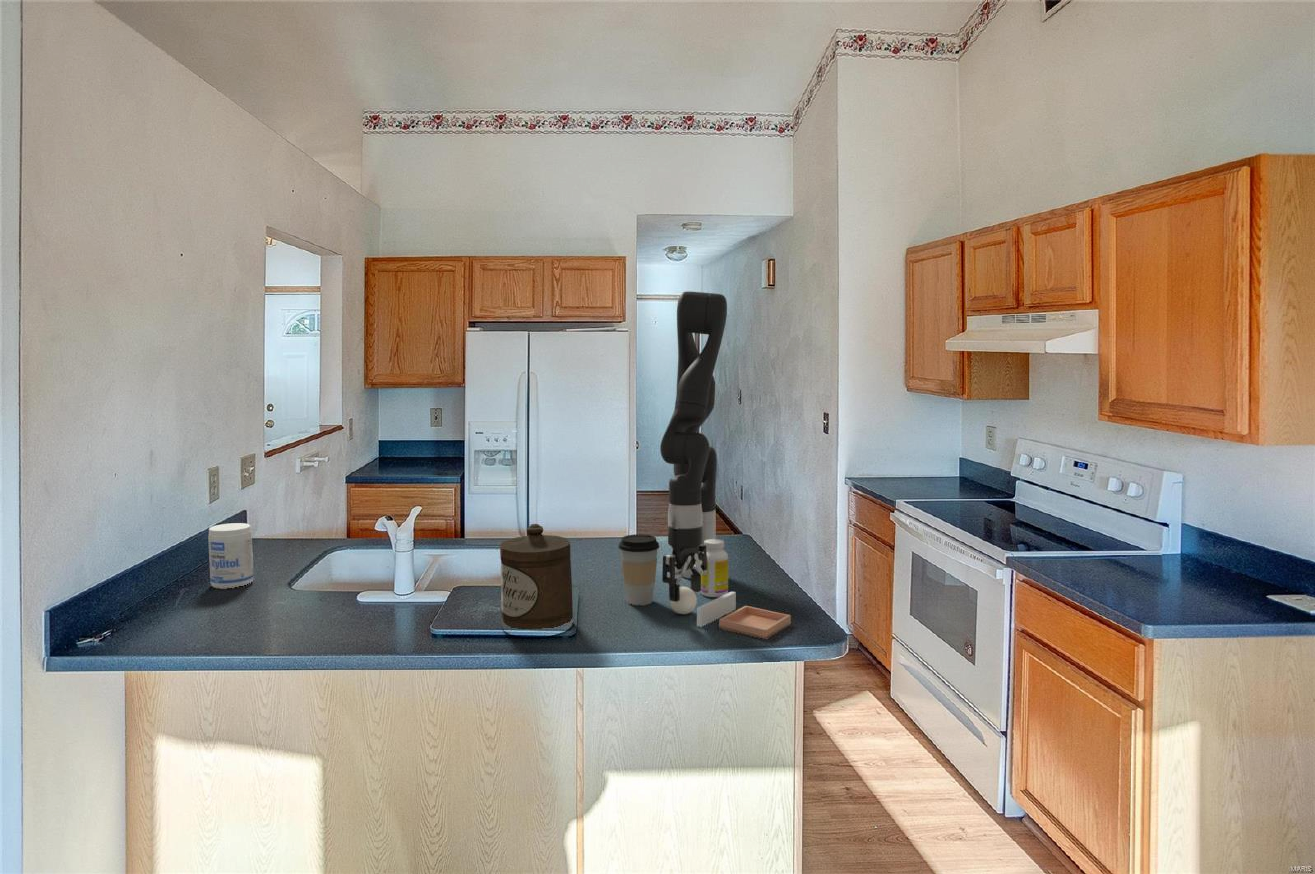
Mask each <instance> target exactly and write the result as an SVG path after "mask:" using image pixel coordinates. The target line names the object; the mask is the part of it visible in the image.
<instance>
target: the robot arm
mask: <svg viewBox="0 0 1315 874" xmlns="http://www.w3.org/2000/svg"><path fill="white" fill-rule="evenodd" d="M676 306H677V307H676V328H677V329H676V332H677V358H678V359H677V360H678V361H677V373H676V375H677V377H676V395H675V396H676V397H675V403H674V411H673V413H672V416H671V418H670V420H669V423H668V425H667V427H666V429H665V431H664V434H663V436H662V438H661V441H660V448H659V449H660V451H659V452H660V455H661V458H662V459H663V461H664V462H665V463H666V464H669V465H673V474H674V476H672V477H671V478H669V481H668V509H667V545H669V546H670V547H671V548H672V551H671V554H664V555H662V580H661V582H662V583H665V584H668V591H669V592H668V593H669V594H668V598H669V601H670V600H671V601H675V602H677V601H679V600H680V587H681V586H680V582H681V579H682V578H686V579H690V589H691V590H693V592H694V593H699V592H701V575H702V574H703V571H704V570H705V571H706V570H707V550H706V545H704V541H705V540H708V539H716V525H717V524H716V488H717V487H716V484H717V483H716V482H717V469H718V467H717V466H718V460H717V459H718V458H717V452H716V450H715V448H714V447H713V446H710V443H709V440H708V438H707V436H706V435H705V434H703V433H701V432H697V431H698V430H699V429H700V427H702V425H703V424H704V423H705V422H706V420H707V419H708V418H709V416H711V413H712V412H713V409H714V406H715V401H716V400H715V397H716V380H715V377H714V375H713V374H714V371H715V367H716V364H717V360H718V356H719V353H720V349H721V345H722V340H723V336H724V332H725V328H726V324H727V317H728V314H727V313H728V303H727V298H726V296H725V295H724V294H721V293H715V292H714V293H713V292H702V291H701V292H700V291H683V292H681V293H680V295H679V297H678V300H677V304H676ZM694 334H698V335H708V337H707V340H706V343H705V345H704V347H703V349H702V350H701V352H699V350H698V347H697V345H696V342H695V339H694V338H695V337H694ZM700 560H702V564H701V563H700Z"/></svg>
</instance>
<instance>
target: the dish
mask: <svg viewBox="0 0 1315 874" xmlns="http://www.w3.org/2000/svg"><path fill="white" fill-rule="evenodd" d="M791 618H792V616H791V614H786V613H781V612H777V611H773V610H767V609H764V608H759V607H754V606H751V605H750V606H749V605H744V606H742V607H740V608H738V609H737V610H734V611H732V612H730V613H728V614H726V615H725V616H723V617H721V618H719V619H718V620H719V621H718V629H719V628H723V629H726V630H725V631H727V630H730V631H729V632H731V631H733V632H732V633H735V632H737V634H739V633H743V634H746V635H745V636H748V635H750V636H749V637H752V636H753V637H752V638H756V637H760V638H763V639H762V640H764V639H766V640H768V639H769V638H771V637H772V635H773V636H774V635H776V634H778V633H779V632H781V631H783V630H784V629H786V628H787V627H789V626H790V624H791V623H792V621H791V620H792V619H791ZM783 628H784V629H783ZM723 629H722V630H723ZM775 633H776V634H775ZM743 634H742V635H743ZM760 638H759V639H760ZM767 638H768V639H767Z"/></svg>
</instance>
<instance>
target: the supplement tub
mask: <svg viewBox="0 0 1315 874" xmlns="http://www.w3.org/2000/svg"><path fill="white" fill-rule="evenodd" d="M252 538H253V535H252V527H251V524H249V523H244V522H236V523H235V522H232V523H231V522H230V523H229V522H228V523H222V524H217V525H213V526H211V527H209V528H208V541H207V542H208V556H209V557H208V558H209V579H210V585H211V587H212V588H215V589H218V588H219V590H220V589H221V590H228V589H227V588H232V589H235V588H234V587H237V588H240V587H239V586H243V587H245V586H244V585H246V586H248V585H250V584H252V583H253V582H254V562H253V561H254V560H253V559H254V558H253V557H254V556H253V539H252ZM251 582H252V583H251ZM249 583H250V584H249ZM247 584H248V585H247Z"/></svg>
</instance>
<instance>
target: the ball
mask: <svg viewBox="0 0 1315 874" xmlns="http://www.w3.org/2000/svg"><path fill="white" fill-rule="evenodd" d="M697 602H698V599H697V595H696V592H694V591H693V590H691V587H690V588H689V587H687V586H680V600H679V601H677V602H675V601H671V600H670V599H669V605H670V607H671V609H672V611H674V612H675V613H676V614H679V615H688V614H690V613H691V612H693V611H694V609H695V608H697Z"/></svg>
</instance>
